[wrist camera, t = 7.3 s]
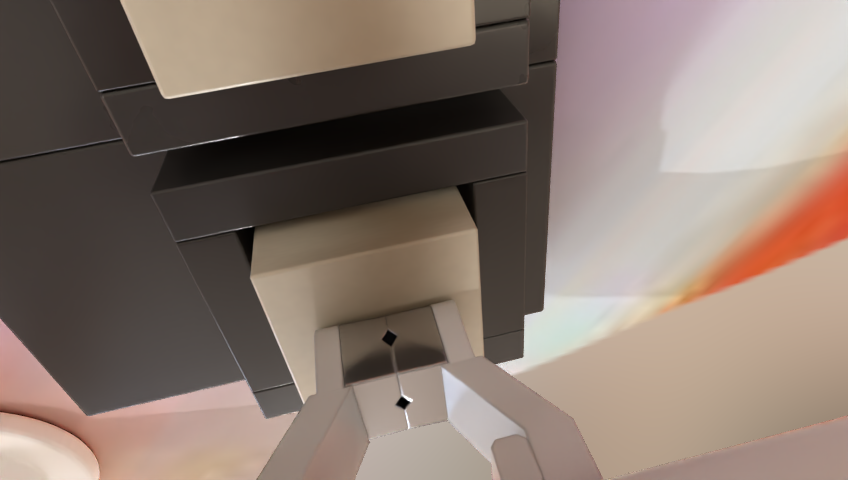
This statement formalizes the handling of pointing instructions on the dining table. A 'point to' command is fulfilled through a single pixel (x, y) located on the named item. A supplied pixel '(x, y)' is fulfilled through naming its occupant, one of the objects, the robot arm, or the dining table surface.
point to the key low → (365, 270)
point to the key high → (286, 37)
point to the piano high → (229, 108)
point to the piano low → (252, 239)
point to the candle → (42, 452)
